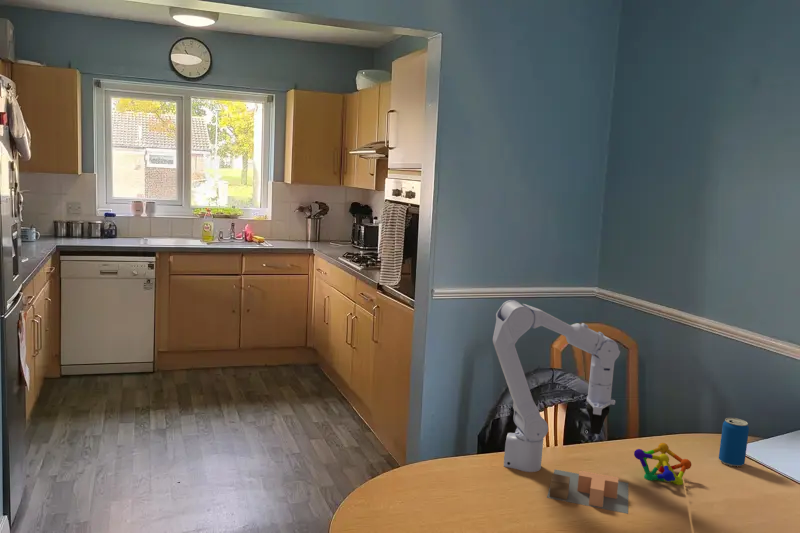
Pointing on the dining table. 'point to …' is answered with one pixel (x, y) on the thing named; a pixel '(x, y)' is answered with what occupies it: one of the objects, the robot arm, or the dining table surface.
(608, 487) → the t block
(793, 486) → the dining table surface
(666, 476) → the decorative model
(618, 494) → the board
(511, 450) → the robot arm
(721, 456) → the beverage can
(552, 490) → the walnut cube
